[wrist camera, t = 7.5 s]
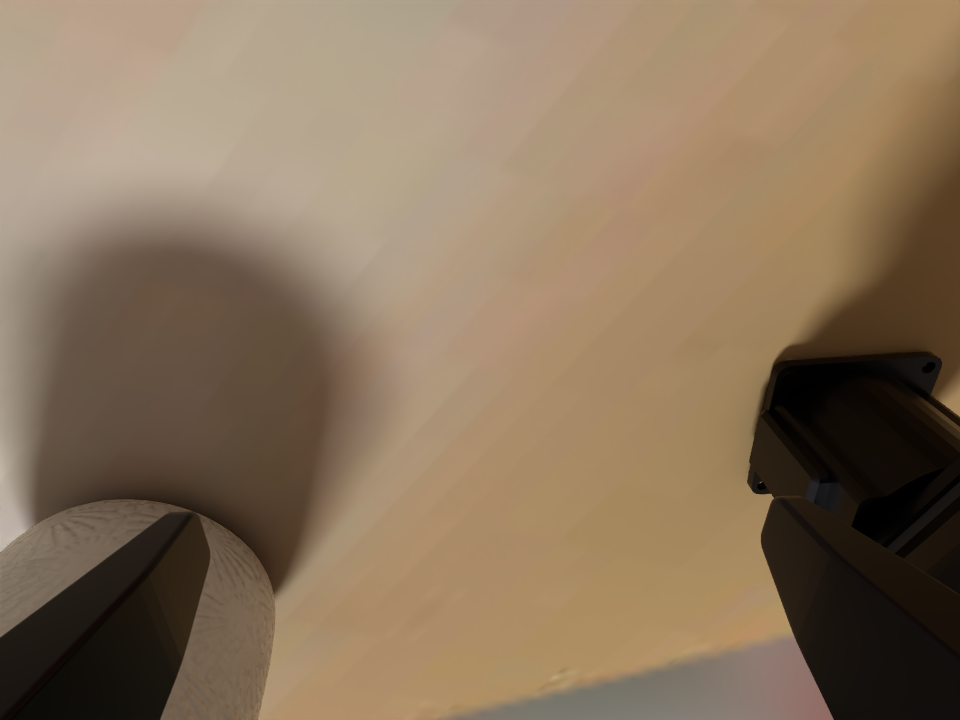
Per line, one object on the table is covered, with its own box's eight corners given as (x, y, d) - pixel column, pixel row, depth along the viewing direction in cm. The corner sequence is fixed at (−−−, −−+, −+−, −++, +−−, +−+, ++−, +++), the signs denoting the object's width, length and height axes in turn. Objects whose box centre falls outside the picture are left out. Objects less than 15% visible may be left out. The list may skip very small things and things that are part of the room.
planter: (-37, 573, 27) (-305, 872, 17) (109, 413, 23) (-132, 683, 13) (199, 684, 32) (91, 967, 22) (352, 567, 28) (301, 847, 18)
